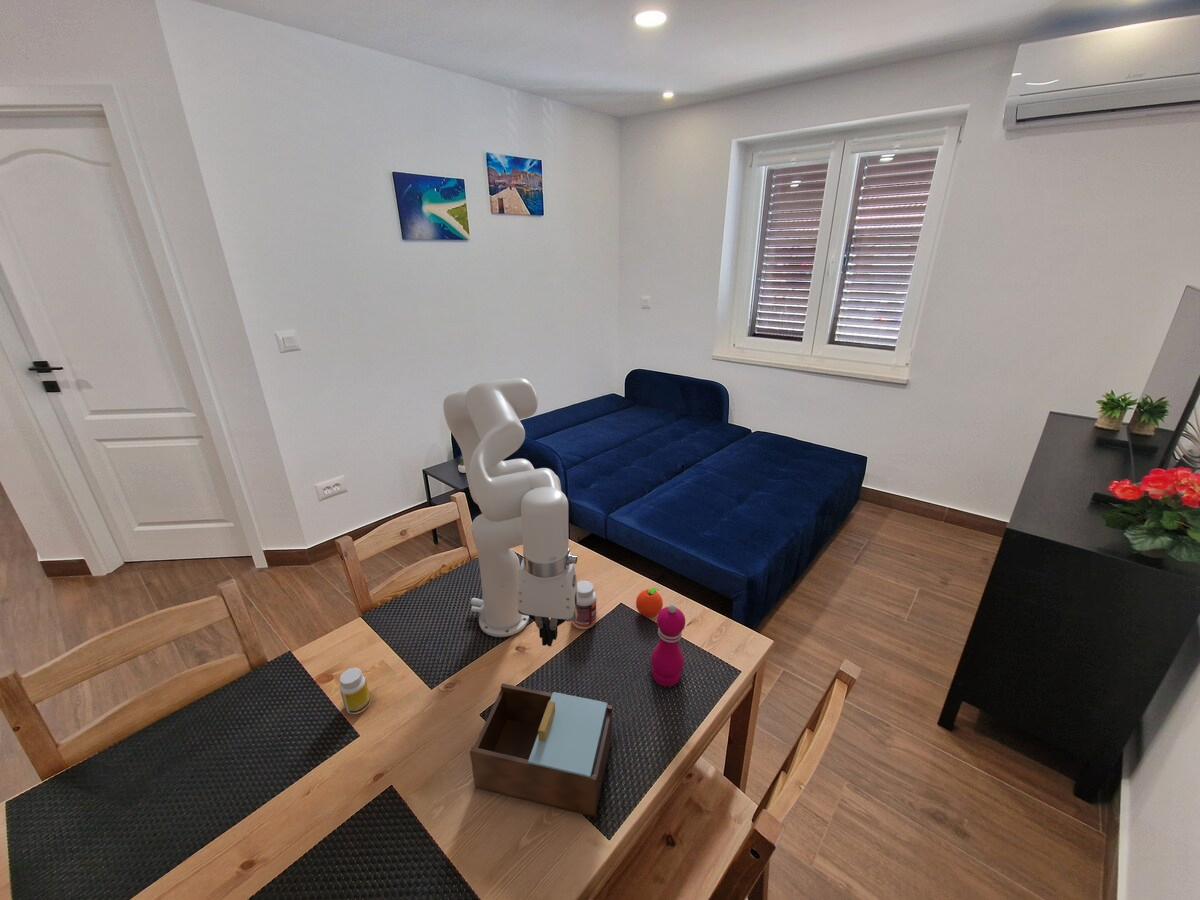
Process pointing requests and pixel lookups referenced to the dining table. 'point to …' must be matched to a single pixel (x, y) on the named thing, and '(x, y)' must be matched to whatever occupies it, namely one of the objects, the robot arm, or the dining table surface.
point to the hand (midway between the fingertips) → (548, 640)
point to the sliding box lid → (569, 734)
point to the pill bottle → (585, 605)
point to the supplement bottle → (354, 691)
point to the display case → (510, 747)
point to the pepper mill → (668, 647)
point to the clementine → (649, 602)
